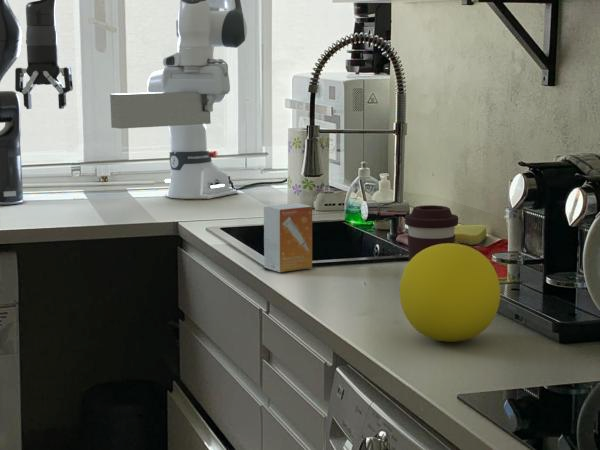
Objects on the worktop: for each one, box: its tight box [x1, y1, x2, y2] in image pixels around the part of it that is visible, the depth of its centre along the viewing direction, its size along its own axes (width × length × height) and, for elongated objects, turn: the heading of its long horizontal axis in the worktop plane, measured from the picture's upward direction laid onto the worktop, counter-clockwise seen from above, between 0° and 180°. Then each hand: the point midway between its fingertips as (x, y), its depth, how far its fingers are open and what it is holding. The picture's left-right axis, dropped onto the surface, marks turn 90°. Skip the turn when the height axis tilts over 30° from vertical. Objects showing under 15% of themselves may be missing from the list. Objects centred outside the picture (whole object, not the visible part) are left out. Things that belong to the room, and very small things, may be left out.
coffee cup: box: [404, 204, 459, 262], centre depth 197 cm, size 10×10×15 cm
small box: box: [263, 202, 313, 273], centre depth 214 cm, size 8×6×13 cm
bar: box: [109, 92, 211, 130], centre depth 274 cm, size 26×5×9 cm, turn 125°
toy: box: [399, 243, 501, 343], centre depth 160 cm, size 15×15×15 cm
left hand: (45, 108), depth 266 cm, fingers open, 8 cm apart
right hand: (196, 111), depth 280 cm, fingers closed on bar, 6 cm apart
